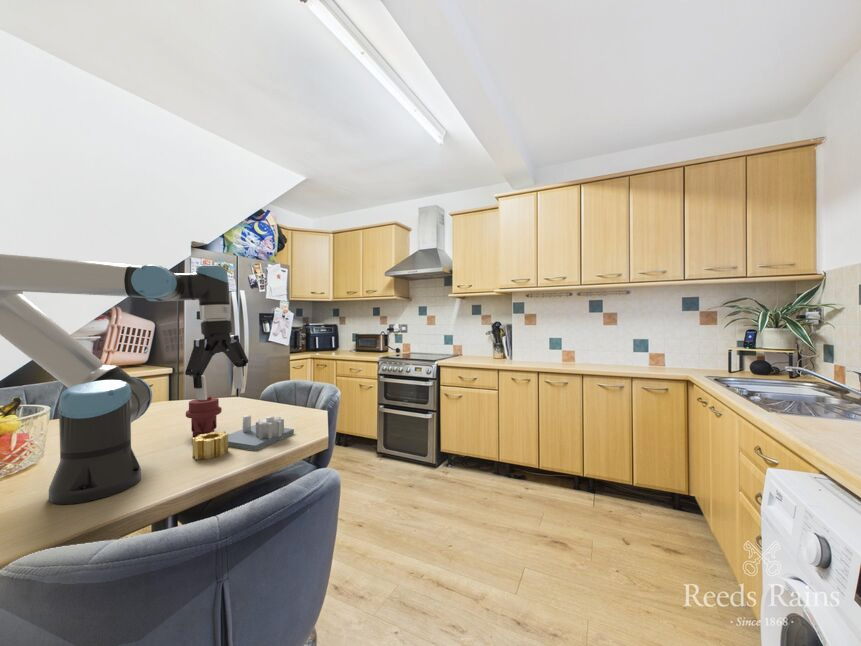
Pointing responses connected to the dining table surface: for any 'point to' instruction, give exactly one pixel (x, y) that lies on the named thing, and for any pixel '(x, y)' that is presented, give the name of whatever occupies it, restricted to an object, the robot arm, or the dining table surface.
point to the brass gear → (210, 445)
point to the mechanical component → (203, 415)
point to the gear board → (259, 433)
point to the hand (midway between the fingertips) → (221, 393)
